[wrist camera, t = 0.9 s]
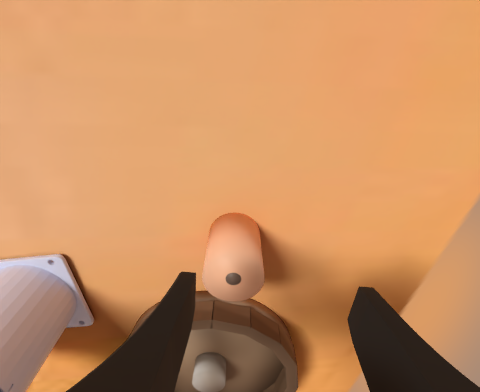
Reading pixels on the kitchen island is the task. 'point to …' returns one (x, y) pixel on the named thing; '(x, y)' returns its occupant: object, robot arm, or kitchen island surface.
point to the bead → (233, 258)
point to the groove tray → (235, 348)
